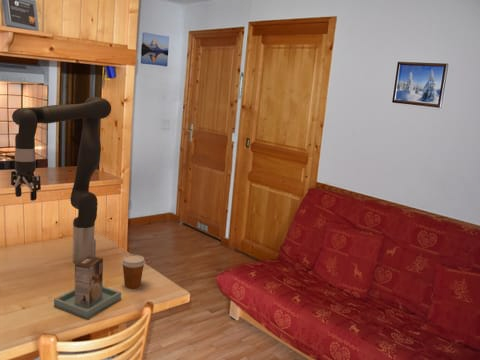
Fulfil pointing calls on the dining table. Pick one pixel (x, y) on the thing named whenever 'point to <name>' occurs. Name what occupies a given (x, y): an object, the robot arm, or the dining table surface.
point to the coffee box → (88, 281)
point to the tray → (68, 305)
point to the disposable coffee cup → (133, 270)
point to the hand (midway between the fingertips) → (25, 198)
